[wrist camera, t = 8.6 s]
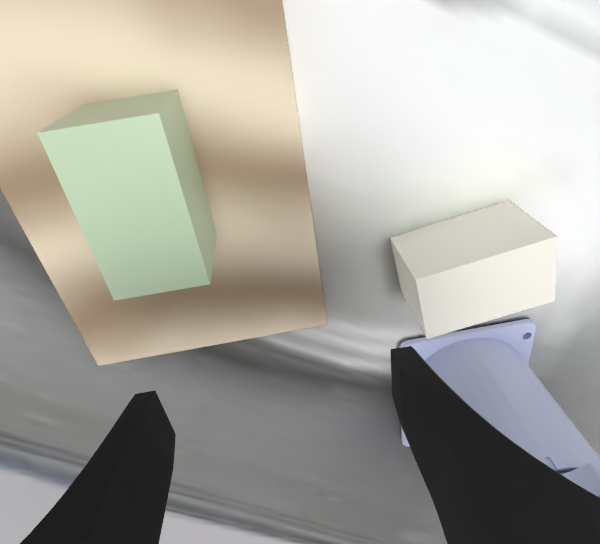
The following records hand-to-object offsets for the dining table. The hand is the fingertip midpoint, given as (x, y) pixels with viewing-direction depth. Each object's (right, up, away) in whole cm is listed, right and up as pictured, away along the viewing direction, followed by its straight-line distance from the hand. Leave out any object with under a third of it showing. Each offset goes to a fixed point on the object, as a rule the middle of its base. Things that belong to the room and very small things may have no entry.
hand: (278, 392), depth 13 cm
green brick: (-5, +8, +4) cm, 10 cm away
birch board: (-5, +8, +5) cm, 11 cm away
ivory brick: (+8, +5, +9) cm, 13 cm away
